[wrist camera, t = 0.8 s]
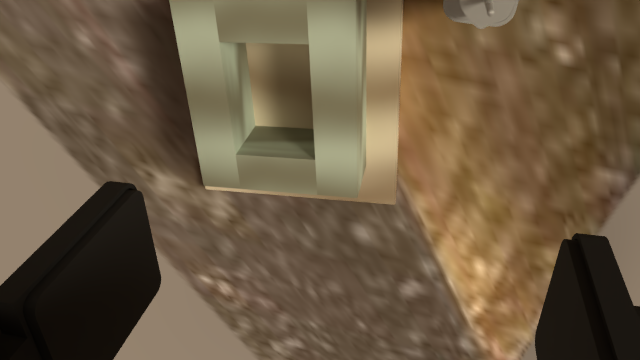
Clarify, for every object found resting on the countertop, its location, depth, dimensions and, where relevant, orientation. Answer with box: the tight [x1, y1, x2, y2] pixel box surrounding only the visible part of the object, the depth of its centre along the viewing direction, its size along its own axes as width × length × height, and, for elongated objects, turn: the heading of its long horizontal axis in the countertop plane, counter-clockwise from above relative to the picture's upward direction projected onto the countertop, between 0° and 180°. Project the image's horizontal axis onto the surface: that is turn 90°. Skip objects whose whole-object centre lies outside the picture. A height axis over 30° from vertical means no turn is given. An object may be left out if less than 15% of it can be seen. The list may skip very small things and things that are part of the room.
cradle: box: [169, 0, 404, 205], centre depth 33 cm, size 18×14×5 cm
